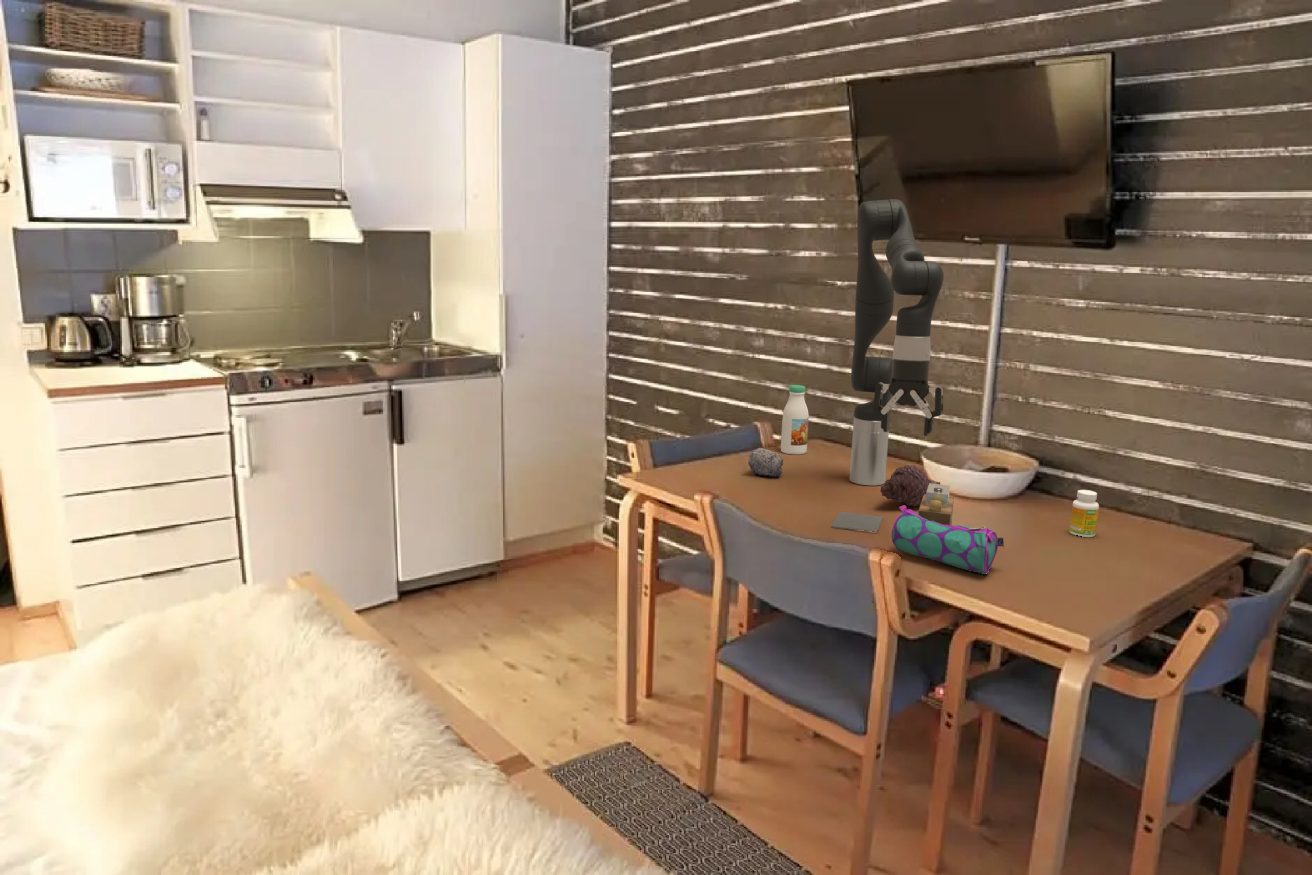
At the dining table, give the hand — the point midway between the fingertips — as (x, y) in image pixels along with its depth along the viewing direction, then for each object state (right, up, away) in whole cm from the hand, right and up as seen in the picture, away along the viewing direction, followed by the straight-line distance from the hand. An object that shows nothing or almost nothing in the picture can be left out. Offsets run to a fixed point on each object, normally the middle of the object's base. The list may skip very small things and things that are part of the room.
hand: (905, 433), depth 203 cm
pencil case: (+5, -26, -10) cm, 29 cm away
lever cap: (+8, -15, +6) cm, 18 cm away
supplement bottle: (+42, -23, +10) cm, 49 cm away
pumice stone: (-23, -11, +54) cm, 60 cm away
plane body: (+8, -23, +6) cm, 25 cm away
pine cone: (+8, -18, +29) cm, 35 cm away
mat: (-7, -20, +14) cm, 26 cm away
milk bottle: (-12, -5, +81) cm, 82 cm away
